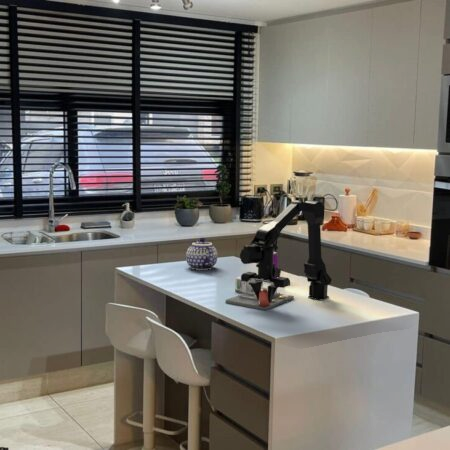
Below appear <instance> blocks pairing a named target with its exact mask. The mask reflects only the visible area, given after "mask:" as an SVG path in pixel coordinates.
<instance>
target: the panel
mask: <svg viewBox="0 0 450 450" xmlns="http://www.w3.org/2000/svg"><path fill="white" fill-rule="evenodd" d="M294 298H295V297H294V295H291V294H290V295H288V294H284V293H280V292H277V293H276V294H274V296H273V299H272V301H271V303H270V305H269V306H261V305H259V301H258V299H257V298H254V290H252V291H250V292H246V293H242V294H239V295H235V296H232V297H230V298H227V299H226V300H225V304H228V305H229V304H230V305H235V306H238V307H239V306H240V307H246V308H250V309H255V310H260V311H267V310H270V309H272V307H273V308H275V307H277V305H278V306H280V305H282V303H283V304H286V303H288V302H290V301H293V300H295V299H294ZM287 301H288V302H287ZM279 304H280V305H279Z"/></svg>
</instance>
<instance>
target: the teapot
mask: <svg viewBox="0 0 450 450" xmlns="http://www.w3.org/2000/svg"><path fill="white" fill-rule="evenodd" d="M185 255H186V256H185V258H186V263H187V265H188V266H189V267H190V268H191V270H194V269H196V270H195V271H208V269H209V270H212V269H213V267H215V265H216V264H217V262H218V250H217V248H216V247H215V246H214V245H213V242H209V241H206V238H205V237H200V238H199V240H198V241H191V245H190V246H189V247H188V248H187V251H186V253H185ZM211 268H212V269H211Z"/></svg>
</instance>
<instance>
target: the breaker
mask: <svg viewBox="0 0 450 450" xmlns="http://www.w3.org/2000/svg"><path fill="white" fill-rule="evenodd" d="M268 286H270V285H267V284H265V285H263V286H262V287H261V289H267V290H268ZM276 293H278V289H277V290H276V291H275V294H276Z"/></svg>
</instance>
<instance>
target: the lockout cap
mask: <svg viewBox="0 0 450 450" xmlns="http://www.w3.org/2000/svg"><path fill="white" fill-rule="evenodd" d="M259 305H261V306H269V305H270V303H269V301H268V291H267V289H263V290H261V291H259Z"/></svg>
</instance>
